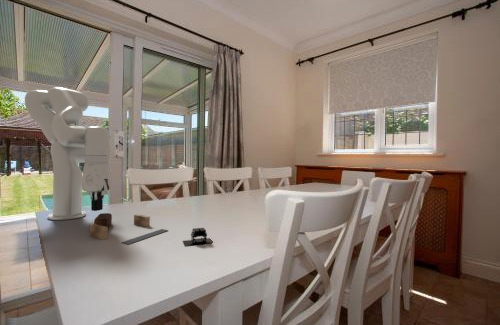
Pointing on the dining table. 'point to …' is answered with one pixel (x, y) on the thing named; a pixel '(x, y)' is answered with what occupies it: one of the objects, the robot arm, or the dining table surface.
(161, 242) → the dining table surface
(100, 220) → the brick
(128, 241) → the dark grey flat strip
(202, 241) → the black arch bracket
